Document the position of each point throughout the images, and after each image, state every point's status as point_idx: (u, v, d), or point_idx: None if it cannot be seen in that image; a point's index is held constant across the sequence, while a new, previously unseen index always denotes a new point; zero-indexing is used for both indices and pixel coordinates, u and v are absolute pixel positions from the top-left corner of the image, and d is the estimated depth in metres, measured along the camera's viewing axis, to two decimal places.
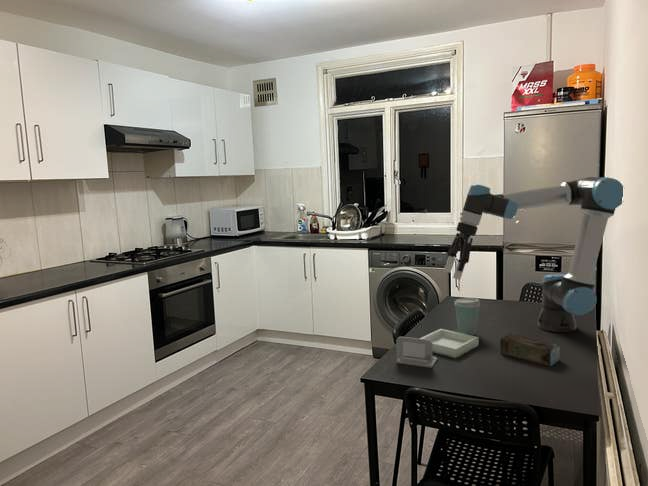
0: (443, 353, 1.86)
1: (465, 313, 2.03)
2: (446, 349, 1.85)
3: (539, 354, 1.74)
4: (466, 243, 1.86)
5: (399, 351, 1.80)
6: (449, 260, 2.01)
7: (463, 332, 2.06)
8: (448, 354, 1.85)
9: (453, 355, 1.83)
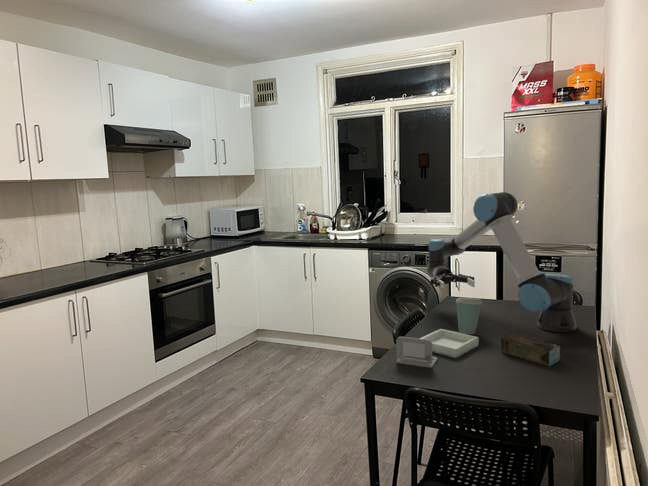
0: (443, 353, 1.86)
1: (466, 310, 2.04)
2: (446, 349, 1.85)
3: (539, 354, 1.75)
4: None
5: (399, 351, 1.80)
6: (468, 283, 2.21)
7: (463, 329, 2.06)
8: (448, 354, 1.85)
9: (453, 355, 1.83)
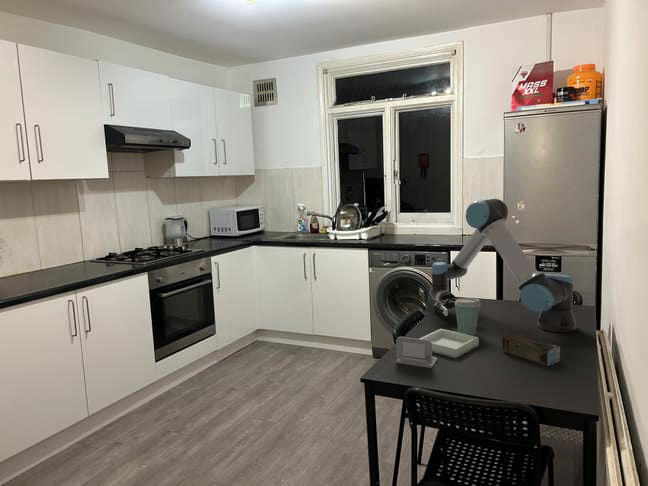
0: (443, 353, 1.86)
1: (465, 313, 2.03)
2: (446, 349, 1.85)
3: (537, 354, 1.75)
4: None
5: (399, 351, 1.80)
6: None
7: (463, 332, 2.06)
8: (448, 354, 1.85)
9: (453, 355, 1.83)
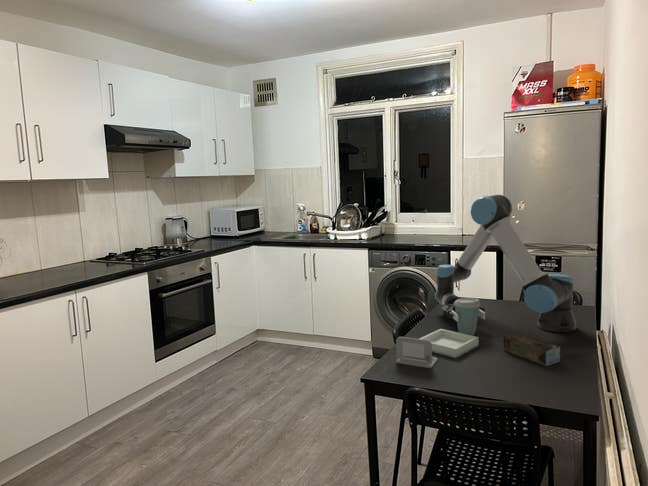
0: (443, 353, 1.86)
1: (465, 313, 2.03)
2: (446, 349, 1.85)
3: (536, 353, 1.75)
4: (443, 310, 2.17)
5: (399, 351, 1.80)
6: (478, 314, 2.09)
7: (463, 332, 2.06)
8: (448, 354, 1.85)
9: (453, 355, 1.83)
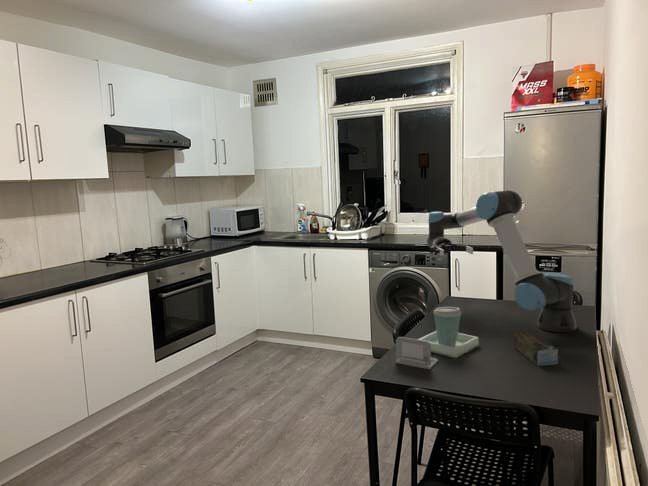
0: (443, 353, 1.86)
1: (445, 323, 1.89)
2: (446, 349, 1.85)
3: (532, 352, 1.76)
4: None
5: (398, 351, 1.80)
6: (467, 251, 2.28)
7: (442, 343, 1.91)
8: (448, 354, 1.85)
9: (453, 355, 1.83)
